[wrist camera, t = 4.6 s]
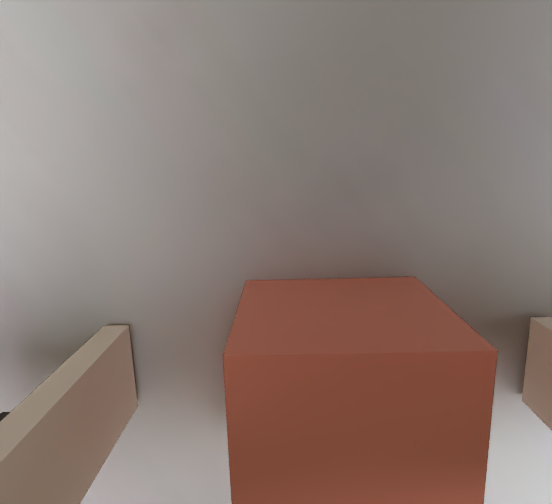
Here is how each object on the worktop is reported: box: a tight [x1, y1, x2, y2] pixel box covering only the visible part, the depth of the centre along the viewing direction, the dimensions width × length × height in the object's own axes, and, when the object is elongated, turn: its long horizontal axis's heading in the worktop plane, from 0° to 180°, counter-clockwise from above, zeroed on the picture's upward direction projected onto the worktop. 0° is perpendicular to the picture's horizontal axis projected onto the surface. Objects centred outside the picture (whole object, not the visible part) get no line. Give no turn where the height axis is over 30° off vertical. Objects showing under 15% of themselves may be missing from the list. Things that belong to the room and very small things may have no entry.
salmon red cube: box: [223, 277, 497, 504], centre depth 11 cm, size 5×5×5 cm
